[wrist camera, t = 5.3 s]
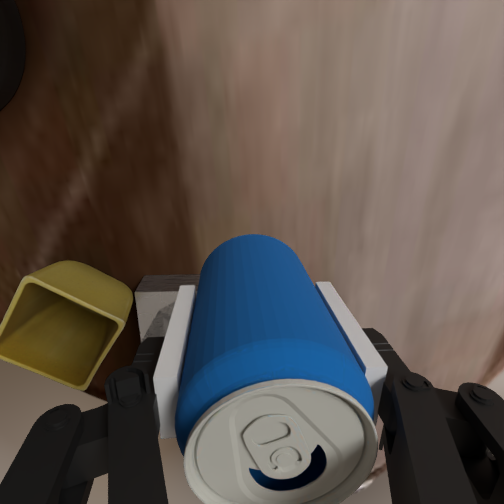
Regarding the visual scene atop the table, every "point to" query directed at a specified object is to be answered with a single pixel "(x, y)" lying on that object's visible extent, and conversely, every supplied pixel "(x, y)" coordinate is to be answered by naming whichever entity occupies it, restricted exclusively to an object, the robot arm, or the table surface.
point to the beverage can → (270, 386)
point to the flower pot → (64, 322)
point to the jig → (159, 301)
